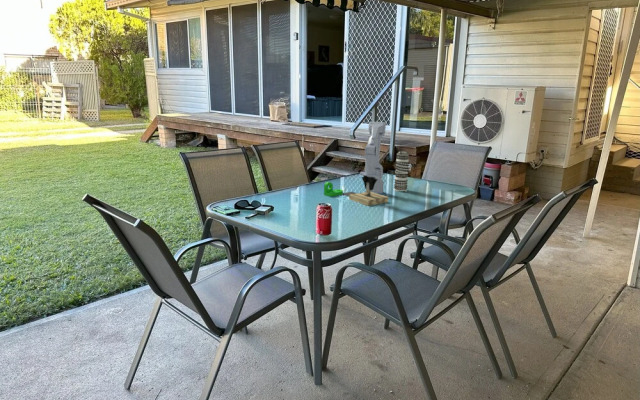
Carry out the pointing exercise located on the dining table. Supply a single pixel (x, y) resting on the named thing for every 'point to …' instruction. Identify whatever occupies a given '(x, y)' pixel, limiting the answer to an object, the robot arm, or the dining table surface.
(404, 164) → the grey striped cylinder
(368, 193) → the pin
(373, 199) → the socket block
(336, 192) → the mechanical part
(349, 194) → the mat
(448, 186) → the dining table surface
